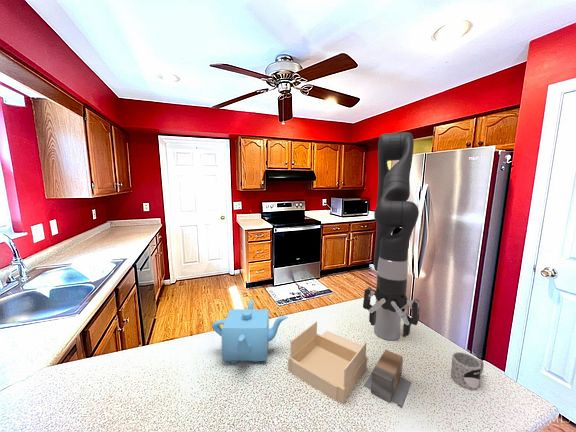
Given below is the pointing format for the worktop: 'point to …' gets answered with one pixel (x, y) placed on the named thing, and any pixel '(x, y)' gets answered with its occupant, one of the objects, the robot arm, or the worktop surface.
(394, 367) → the bar
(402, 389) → the mat
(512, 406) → the worktop surface
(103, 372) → the worktop surface
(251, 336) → the teakettle
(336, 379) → the carton
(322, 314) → the worktop surface
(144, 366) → the worktop surface
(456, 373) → the mug
